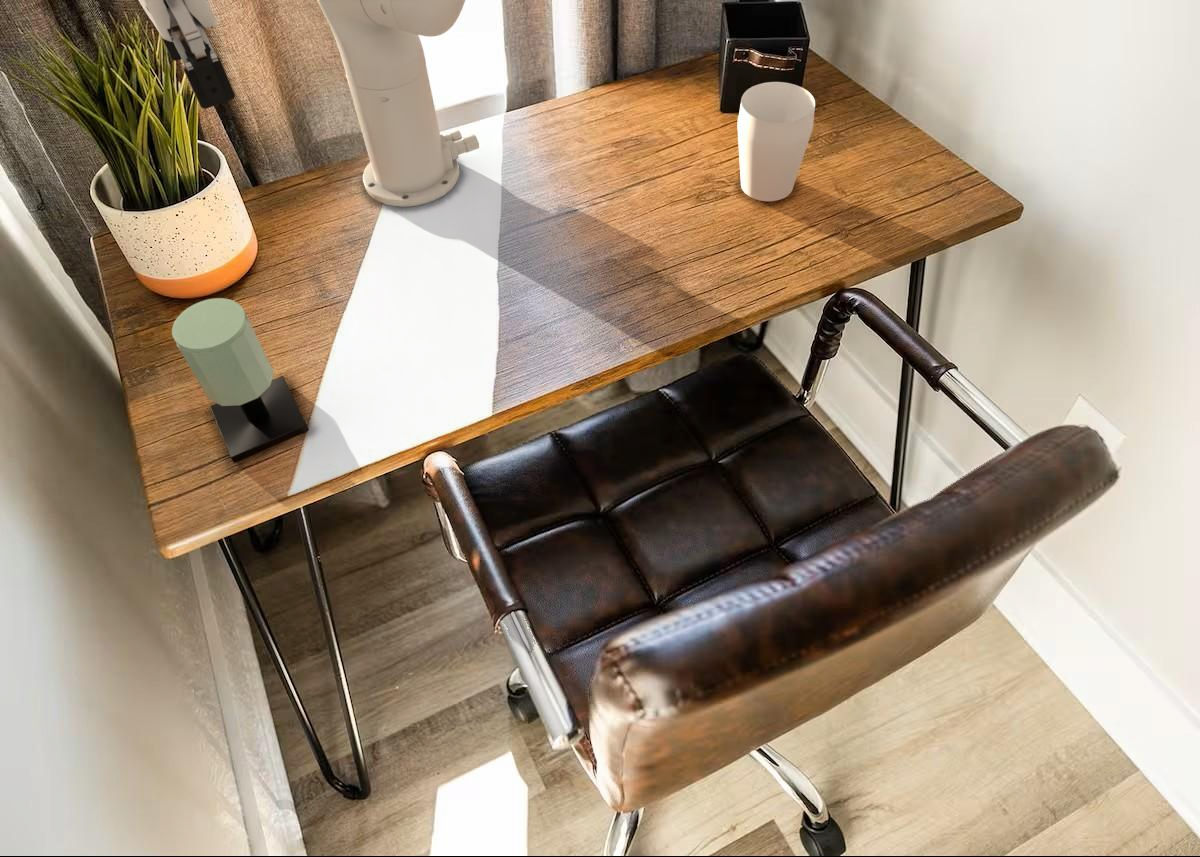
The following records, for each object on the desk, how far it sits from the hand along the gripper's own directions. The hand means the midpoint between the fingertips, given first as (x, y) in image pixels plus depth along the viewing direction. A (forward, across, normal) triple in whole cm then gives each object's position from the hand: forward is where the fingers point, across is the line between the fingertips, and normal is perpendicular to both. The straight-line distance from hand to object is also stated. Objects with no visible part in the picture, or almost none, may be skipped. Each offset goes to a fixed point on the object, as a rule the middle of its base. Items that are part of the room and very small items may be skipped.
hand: (203, 78), depth 85 cm
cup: (+29, -16, -58) cm, 66 cm away
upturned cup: (+20, -18, +10) cm, 29 cm away
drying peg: (+27, -18, +10) cm, 34 cm away
